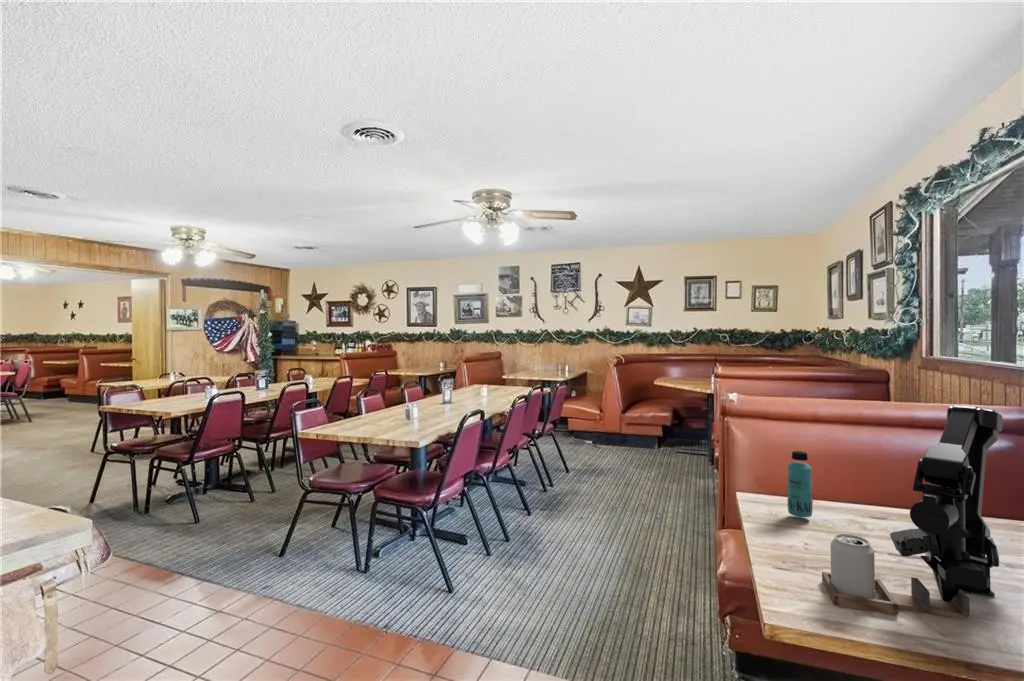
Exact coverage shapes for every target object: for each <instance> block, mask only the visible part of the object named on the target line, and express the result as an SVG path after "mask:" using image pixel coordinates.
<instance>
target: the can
mask: <svg viewBox="0 0 1024 681" xmlns="http://www.w3.org/2000/svg"><path fill="white" fill-rule="evenodd" d="M833 538H834V539H832V540H831V541H830V542H829V544H830V573H831V582H832V584H833V586H834V588H835V590H836V592H837V594H843V595H850V596H857V597H863V598H870V599H876V590H875V579H876V576H875V575H876V574H875V573H876V570H875V563H876V562H875V550H874V548H873V547H872V546H871V542H870V541H869V539H867V538H865V537H863V536H859V535H854V534H851V533H837V534H834V536H833Z"/></svg>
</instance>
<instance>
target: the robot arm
mask: <svg viewBox="0 0 1024 681" xmlns="http://www.w3.org/2000/svg"><path fill="white" fill-rule="evenodd" d="M1003 419H1004V418H1003V415H1002V414H1000V412H997V411H996V410H995V409H990V408H980V407H978V406H973V405H972V406H970V405H959V404H958V405H957V404H955V405H950V406H949V408H947V409H946V424H945V426H944V429H943V431H942V434H941V437H940V439H939V442H938V444H937V445H936V446H933V447H931V448H928V449H926V451H925V453H924V454H923V456H922V458H921V459H919V460H918V462H917V467H916V471H915V477H914V481H913V486H912V490H913V491H914V492H919V493H922V499H921V500H919V501H917V502H916V503H914V504H913V505H912V506H911V508H910V510H909V516H910V519H911V523H913V524H914V526H915V527H916V528H910V529H909V528H908V529H902V530H898V531H892V532H890V533H889V535H890V538H891V542H892V543H893V546H894V548H895V550H896V551H897V552H898V553H899V554H900V556H901V557H906V558H907V557H911V556H917V555H920V556H919V557H920V558H921V559H922V561H924V563H926V564H927V566H929V568H930V569H931V570H932V573H933V576H934V580H935V584H936V586H937V589H938V593H939V595H940V598H941V599H940V600H943V601H945V602H951V600H952V599H953V598H954V596H955V595H956V594H957V592H958V591H959V590H960V589H961V590H962V591H963V592H964V593H968V594H975V595H983V596H991V597H995V596H996V593H995V592H994V591H993V590H992V589H991V588H992V587H991V569H992V568H994V567H995V568H998V567H1000V555H999V551H998V550H999V549H998V548H997V545H996V544H995V541H994V538H993V537H991V530H990V528H989V527H988V525H987V524H986V522H985V520H984V518H983V517H982V512H983V500H984V499H983V498H984V485H985V475H986V474H985V473H986V465H987V464H986V463H987V451H988V450H989V449H990V448H991V447H992V446H993V445H994V444H995V443H996V442H997V441H998V439H999V432H1002V430H1003V429H1004V428H1003V427H1004V420H1003ZM923 481H924V482H923ZM921 554H925V555H921Z"/></svg>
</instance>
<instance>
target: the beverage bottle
mask: <svg viewBox="0 0 1024 681" xmlns="http://www.w3.org/2000/svg"><path fill="white" fill-rule="evenodd" d="M791 459H792V460H795V461H791V462H790V463H789V464H788V465H787V496H786V497H787V502H786V504H787V511H788V513H789V515H791V516H794V517H798V518H811V517H812V516H813V508H814V505H813V502H814V500H813V475H812V473H813V472H812V471H813V467H811V466H810V465H809V464H808V463H807V462H804V461H808V460H809V457H808V453H807V452H805V451H799V450H798V451H797V450H795V451H792V452H791ZM801 461H802V462H801Z"/></svg>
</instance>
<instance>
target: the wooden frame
mask: <svg viewBox="0 0 1024 681" xmlns="http://www.w3.org/2000/svg"><path fill="white" fill-rule="evenodd" d="M821 581H822V583H823V585H824V587H825V590H826V592H827V593H828V596H829V598H830V600H831V603H832V604H833V606H838V607H839V606H840V607H844V608H851V609H857V610H865V611H871V612H877V613H883V614H884V613H885V614H888V615H889V614H891V615H895V616H898V615H899V609H900V610H907V611H913V612H919V613H927V614H932V615H938V616H944V617H951V618H952V617H953V618H957V619H965V620H969V617H970V614H971V612H970V597H969V596H968V595H967V594H966V592H963V591H962V590H961V589H960V590H959V591H958V592H957V594H956V595H955V596H954V598H953V599H952V600H951V602H945V601H943V600H942V599H939V598H932V597H930V596H931V594H930V591H929V590H928V588H927V587H926V586H925V585H924V584H923V583H922V582H921V581H920V580H919V578H918V577H910V581H911V582H910V586H911V591H910V592H911V595H910V594H904V593H898V592H890V591H889V590H888V589H887V587H886V586H885V584H884V582H882V580H881V579H878V578H875V591H877V593H878V594H879V595H880V597H881V599H877V598H875V599H870V598H863V597H857V596H850V595H843V594H837V592H836V590H835V588H834V586H833V584H832V582H831V572H828V571H821Z"/></svg>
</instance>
